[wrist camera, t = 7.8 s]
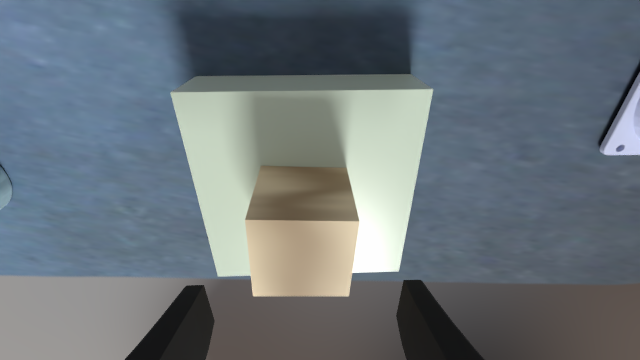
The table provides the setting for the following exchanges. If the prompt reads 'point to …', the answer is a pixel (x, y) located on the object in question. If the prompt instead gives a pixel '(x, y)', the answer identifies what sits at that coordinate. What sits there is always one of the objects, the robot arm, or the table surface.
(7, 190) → the cup
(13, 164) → the table surface
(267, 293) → the birch block
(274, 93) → the green box
